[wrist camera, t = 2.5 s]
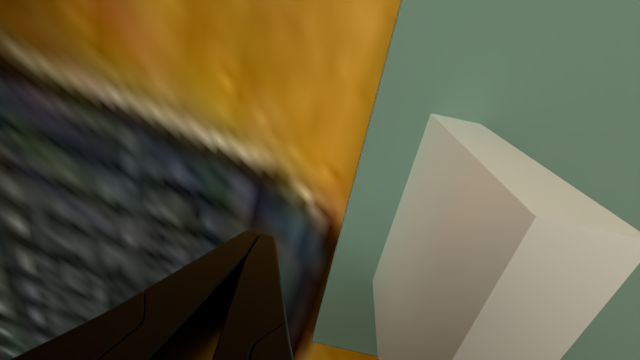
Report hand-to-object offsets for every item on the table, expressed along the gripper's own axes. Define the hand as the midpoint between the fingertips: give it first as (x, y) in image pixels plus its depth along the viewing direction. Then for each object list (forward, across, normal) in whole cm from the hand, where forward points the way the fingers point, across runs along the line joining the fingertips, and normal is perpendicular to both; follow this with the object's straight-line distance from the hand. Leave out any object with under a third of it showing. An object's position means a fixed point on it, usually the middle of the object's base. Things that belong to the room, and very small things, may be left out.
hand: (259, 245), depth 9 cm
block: (+4, -6, 0) cm, 7 cm away
